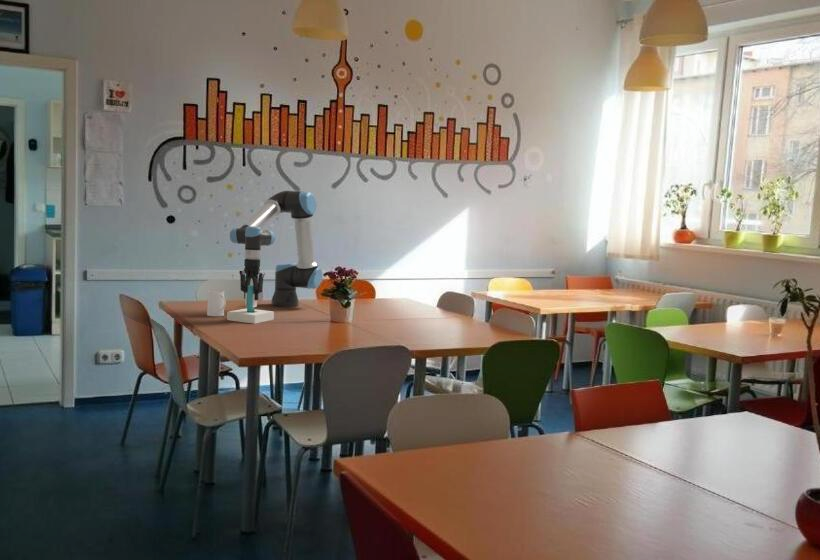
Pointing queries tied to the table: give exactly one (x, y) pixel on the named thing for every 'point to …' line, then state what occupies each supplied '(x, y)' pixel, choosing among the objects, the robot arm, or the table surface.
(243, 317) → the socket block
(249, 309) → the peg
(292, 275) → the robot arm
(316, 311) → the table surface
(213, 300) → the mug
